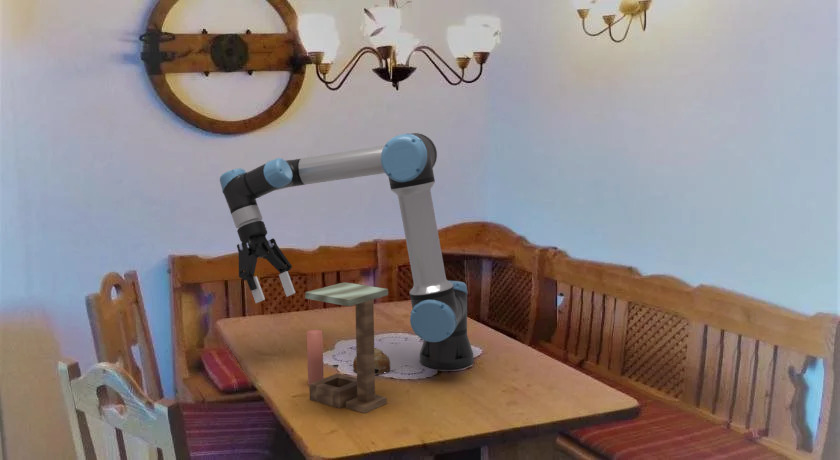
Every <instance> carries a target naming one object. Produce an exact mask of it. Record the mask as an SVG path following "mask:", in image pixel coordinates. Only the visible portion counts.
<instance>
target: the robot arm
mask: <svg viewBox="0 0 840 460" xmlns="http://www.w3.org/2000/svg"><path fill="white" fill-rule="evenodd" d="M437 158H438V151H437V147H436V145H435V144H434V142H433V141H432V139H431V138H430V137H428V136H427V135H425V134H422V133H419V132H417V133H416V132H415V133H414V132H413V133H401V134H399V135H398V134H397V135H396V136H394V137H392V138H391V139H390V140H387V142H386V143H385V145H378V146H373V147H366V148H360V149H354V150H353V149H352V150H348V151H340V152H335V153H328V154H322V155H321V154H320V155H313V156H309V157H303V158H296V159H286V160H284V159H283V158H281V157H279V158H278V157H277V158H274V159H272V160H268V161H267V162H266V163H264V164H262V165H260V166H258V167H256V168H254V169H252V170H250V171H247V172H246V170H245V169H244V168H234V169H232V170H227V171H226V172H224V173H222V174H221V176H220V178H219V182H220V186H221V190H222V191H221V192H222V194H223V195H224V198H225V201H226V203H227V206H228V208H229V211H230V212H229V213H230V214H231V217H232V220H233V222H234V225H235V228H236V229H237V230H236V232H237V235H238V238H239V240H240V242H239V243H238V244H236V249H237V253H238V277H239V279H241V280H242V281H243V282H244V281H246V283H247V285H248V287H249V290H250V291H251V293H252V297H253V299H254V302H255V304H258V303H260V302H263V301H265V300H266V298H265V295H264V293H263V289H262V287H261V285H260V281H259V278H258V276H257V275H256V276H255V272H256V266H257V264H258V263H257V262H258V258H260V259H261V258H262V259H265V260H267V261H268V263H270V264H271V266H273V268H274V269H276V270H277V272H278V273H279V274H278V277H279V280H280V282H281V286H282V289H283V291H284V294H285V296H286V298H287V297H289V296H292V295H295V294H296V291H295V288H294V285H293V283H292V278H291V276H290V275H291V274H290V273H289V271H291V270H292V268H293V266H292V264H291V263H290V261H289V260H288V258H287V257H286V256H285V253H284V252H282V250H281V249H280V247H279V246H278V244H277V241H276V239H275V238H271V239H269V240H268V239H267V238H266V236H267V234H268V230H267V227H266V224H265V222H264V221H263V216H262V213H261V211H260V208H259V205H258V203H257V199H259V198H261V197H263V196H264V195H267V194H270V193H272V192H274V191H279V190H282V189H286V188H293V187H298V186H299V187H300V186H305V185H312V184H318V183H326V182H333V181H339V180H347V179H354V178H362V177H368V176H374V175H383V174H385V175H386V176H387V177H388V182H389V187H390V191H391V192H393V193H394V194H396V196H397V198H398V204H399V209H400V215H401V220H402V226H403V232H404V237H405V243H406V249H407V253H408V258H409V259H408V260H409V264H410V271H411V275H412V277H411V278H412V281H413V286H412V288H411V289H410V290H409V297H410V303H411V307H412V309H411V311H410V316H409V322H410V323H409V324H410V327H411V330H413V333H414V334H415V335H416V336H417V337H418V338H420V339H422V340H423V342H422V345H421V349H420V351H419V363H420V364H421V365H423V366H425V367H428V368H431V369H441V370H453V369H461V368H465V367H468V366H471V365H472V364H473V363H474V352H473V348H472V345H471V343H470V340H469V337H468V294H469V293H468V287H467V284H466V283H465V282H463V281H459V280H448V279H447V277H446V271H445V265H444V259H443V253H442V248H441V243H440V242H441V241H440V237H439V231H438V226H437V219H436V214H435V209H434V204H433V198H432V192H431V189H432V188H433V187H434V185H435V183H436V181H435V180H436V179H435V173H434V169H433V168H434V167H435V165H436V162H437Z"/></svg>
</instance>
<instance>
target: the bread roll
mask: <svg viewBox="0 0 840 460" xmlns="http://www.w3.org/2000/svg"><path fill="white" fill-rule="evenodd" d="M374 362H375V374H378V375H380V374H379V373H384V372H386V373H388V372H389V371H390V369H391V368H390V367H391V361H390V358H389V356H388V354H386V353H384V352H383V351H382V350H381V349H378V348H376V347H374ZM352 368H353V371H354V372H356V373H357V355H356V356H355V357H354V360H353V364H352ZM388 370H389V371H388ZM387 371H388V372H387ZM384 374H385V373H384Z"/></svg>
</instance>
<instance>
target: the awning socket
mask: <svg viewBox="0 0 840 460" xmlns="http://www.w3.org/2000/svg"><path fill="white" fill-rule="evenodd" d="M388 295H389V289H388V288H385V287H384V288H383V287H377V286H371V285H363V284H358V283H352V282H347V281H346V282H345V281H344V282H340V283H336V284H332V285H329V286H324V287H322V288H320V287H319V288H316V289H313V290H309V291H305V292H304V299H306V300H312V301H318V302H323V303H329V304H334V305H338V306H339V305H340V306H345V307H353V306H354V307H355V340H356V341H355V343H356V349H355V350H356V356H357V372H356V377H353V376H349V375H345V374H342V373H338V372H337V373H335V374H332V375H329V376H327V377H324V379H321V380H319V381H316V382H313V383H311V384H309V385H308V386H309V389H308V390H309V400H310V401H312V402H316V403H320V404H324V405H327V406H329V407H333V408H338V409H342V408H344V407H345V408H346V409H349V410H352V411H355V412H359V413H362V414H366V413H369V412H371V411H373V410H375V409H377V408H380V407H383V406H384V405H386V404H388V401H387V397H386V396H383V395H379V394H376V383H375V382H376V375H375V362H374V348H375V320H374V319H375V314H374V312H375V311H374V300H375V299H380V298H382V297H383V298H384V297H386V296H388Z"/></svg>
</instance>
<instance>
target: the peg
mask: <svg viewBox="0 0 840 460" xmlns="http://www.w3.org/2000/svg"><path fill="white" fill-rule="evenodd" d="M323 339H324V338H323V330H321V329H310V330H307V331H306V347H307V349H306V350H307V351H306V352H307V353H306V354H307V356H306V357H307V383H308V384H307V385H308V386H309V384H311V383H313V382H316V381H319V380H321V379H324V378H325V377H324V373H325V372H324V344H323V343H324V342H323Z"/></svg>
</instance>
